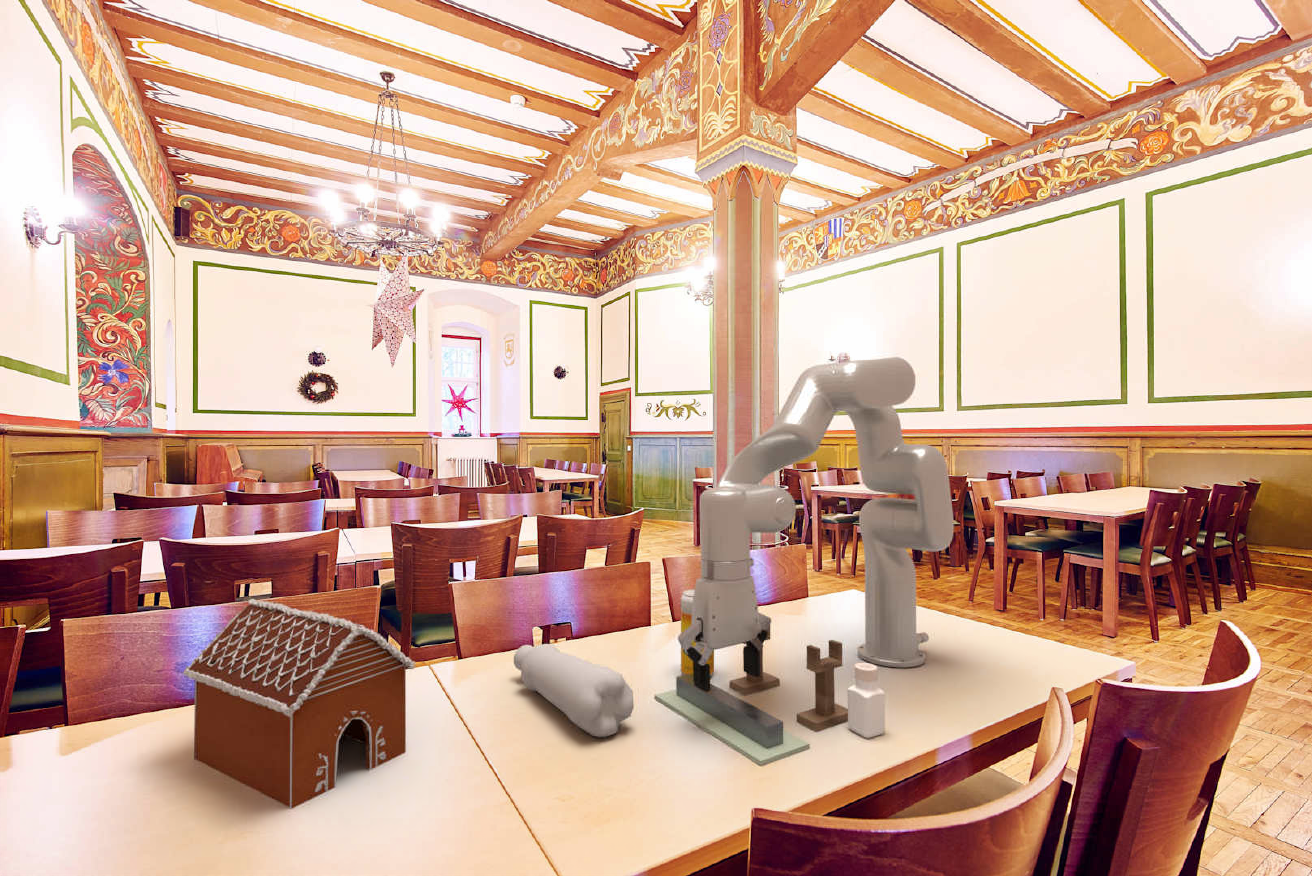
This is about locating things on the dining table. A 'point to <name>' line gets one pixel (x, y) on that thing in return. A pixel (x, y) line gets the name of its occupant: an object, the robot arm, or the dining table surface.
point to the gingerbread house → (295, 699)
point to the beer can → (685, 623)
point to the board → (732, 732)
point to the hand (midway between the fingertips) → (727, 681)
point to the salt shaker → (866, 702)
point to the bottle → (577, 687)
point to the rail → (732, 712)
